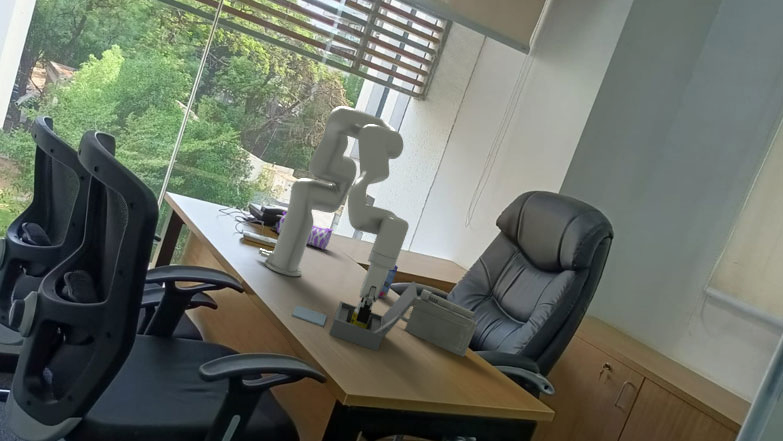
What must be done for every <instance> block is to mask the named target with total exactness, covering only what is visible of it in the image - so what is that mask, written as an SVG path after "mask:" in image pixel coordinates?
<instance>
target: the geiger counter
mask: <svg viewBox="0 0 783 441" xmlns="http://www.w3.org/2000/svg"><path fill="white" fill-rule="evenodd" d="M411 307H412V310H411V313H410V315H409V317H406V316H404V317H403V319H401V321H403V322H405V323H406V325H405V327H404V331H406V332H408V333H410V334H412V335H414V336H417V337H419V338H420V339H423V340H425V341H427V342H429V343H431V344H432V345H433V344H434V345H436V346H438V347H440V348H442V349H444V350H447V351H448V352H451V353H453V354H455V355H457V356H459V357H462V358H463V357H465V356H466V353H467V351H468V348H469V345H470V344H471V341H472V338H473V335H474V334H475V331H476V329H477V325H478V322H477V317H476V316H475V312H474V311H471V310H470V309H468V308H465V307H463V306H461V305H458V304H456V303H454V302H452V301H449V300H447V299H445V298H443V297H441V296H438V295H436V294H434V293H433V292H432V291H431V290H430V291H429V290H427V289H425V288H424V289H422V291H421V293H420V296H419V297H418V296H417V300H416V301H415V302H414V303H413V305H412V306H411ZM473 318H474V320H473Z"/></svg>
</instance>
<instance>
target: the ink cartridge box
mask: <svg viewBox="0 0 783 441" xmlns="http://www.w3.org/2000/svg"><path fill="white" fill-rule="evenodd" d="M397 270H398V266H397V265H396V264H395V267H394V270H389V271H388V274H387V277H386V279H385V282H384V285H383V287H382V290H381V292H380V294H379V297H378V298H381V299H384V300H385V299H386V298H387V296H388V293H389V292H390V288H391V285H392V283H393V281H394V278H395V276H396V273H397Z"/></svg>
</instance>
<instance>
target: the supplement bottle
mask: <svg viewBox="0 0 783 441" xmlns="http://www.w3.org/2000/svg"><path fill="white" fill-rule="evenodd" d="M362 304H363V302H361V301H358V303H357V306H356V307H357V308H356V309H355V310H354V313H353V316H352V318H351V321H349V323H350V324H353V325H356V326H359V327H362V328H364V329H367V327H366V326H367V324H368V323H367V324H365V323H362V322H359V321H357V320H356V318H357V315H358V312H359V309H360V307H362ZM369 318H370V317H369ZM368 321H369V320H368Z"/></svg>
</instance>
